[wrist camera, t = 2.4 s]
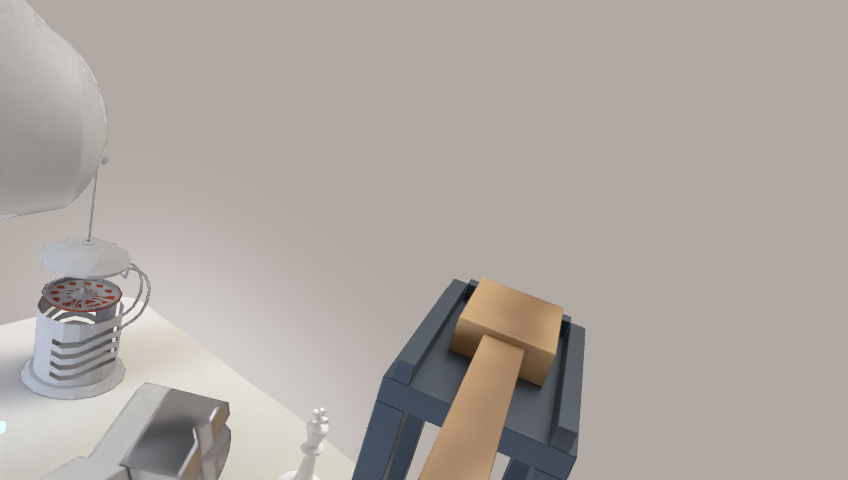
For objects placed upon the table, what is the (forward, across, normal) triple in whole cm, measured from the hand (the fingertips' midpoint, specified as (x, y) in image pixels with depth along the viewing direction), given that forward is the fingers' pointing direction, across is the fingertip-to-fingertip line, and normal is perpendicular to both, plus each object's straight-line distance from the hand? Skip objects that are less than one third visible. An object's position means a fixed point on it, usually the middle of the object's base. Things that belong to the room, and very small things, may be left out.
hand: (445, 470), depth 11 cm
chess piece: (+26, +10, +46) cm, 53 cm away
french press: (+34, +37, +45) cm, 68 cm away
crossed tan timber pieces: (+15, -2, +14) cm, 21 cm away
